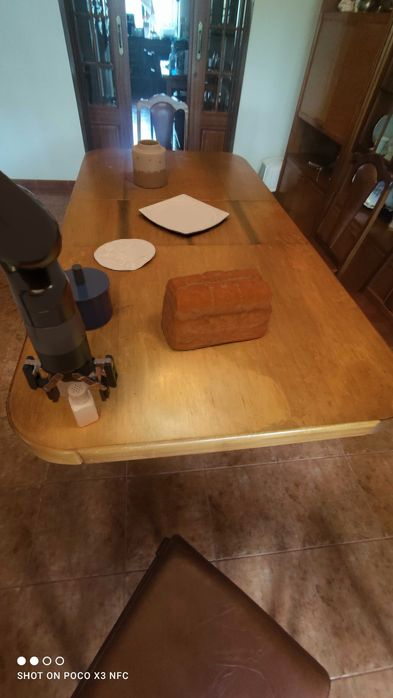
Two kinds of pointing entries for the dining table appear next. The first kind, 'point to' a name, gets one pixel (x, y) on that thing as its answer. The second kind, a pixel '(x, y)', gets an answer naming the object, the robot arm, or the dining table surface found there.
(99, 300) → the pot
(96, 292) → the pot lid
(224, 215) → the plate
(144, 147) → the vase
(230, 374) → the dining table surface
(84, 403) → the salt shaker
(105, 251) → the plaque
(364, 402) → the dining table surface
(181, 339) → the bread
